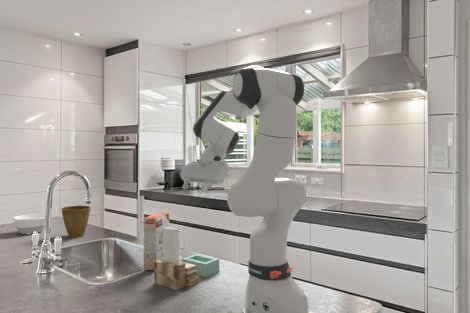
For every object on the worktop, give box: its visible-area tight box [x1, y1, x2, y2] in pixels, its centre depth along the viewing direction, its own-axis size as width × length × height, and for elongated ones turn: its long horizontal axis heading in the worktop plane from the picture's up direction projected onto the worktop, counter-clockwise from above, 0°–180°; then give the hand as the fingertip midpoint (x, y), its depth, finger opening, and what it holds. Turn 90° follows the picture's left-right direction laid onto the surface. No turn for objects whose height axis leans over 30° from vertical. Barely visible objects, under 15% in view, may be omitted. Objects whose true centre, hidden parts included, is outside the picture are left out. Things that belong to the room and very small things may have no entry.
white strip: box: [163, 226, 180, 265], centre depth 131 cm, size 6×2×20 cm, turn 54°
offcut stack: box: [179, 260, 200, 287], centre depth 135 cm, size 14×5×6 cm, turn 54°
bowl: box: [12, 213, 46, 235], centre depth 216 cm, size 18×18×9 cm
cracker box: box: [143, 212, 170, 271], centre depth 153 cm, size 14×6×21 cm, turn 168°
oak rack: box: [153, 258, 187, 291], centre depth 131 cm, size 11×4×8 cm, turn 54°
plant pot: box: [61, 205, 91, 238], centre depth 205 cm, size 15×15×16 cm
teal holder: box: [182, 253, 220, 278], centre depth 145 cm, size 12×8×5 cm, turn 54°
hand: (193, 189), depth 141 cm, fingers open, 8 cm apart
